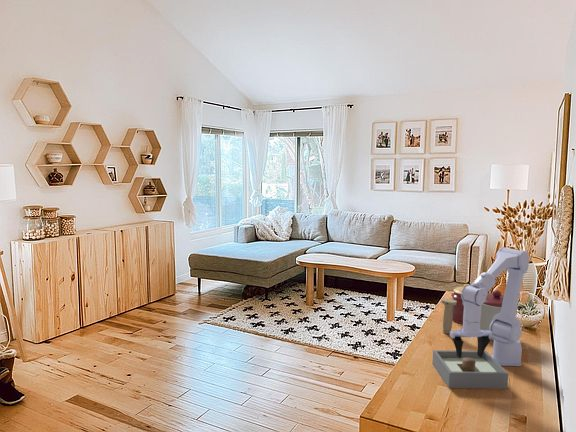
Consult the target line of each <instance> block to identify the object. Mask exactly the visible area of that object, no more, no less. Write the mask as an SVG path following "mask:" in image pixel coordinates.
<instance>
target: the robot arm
mask: <svg viewBox="0 0 576 432" xmlns="http://www.w3.org/2000/svg"><path fill="white" fill-rule="evenodd" d="M530 260H531V258H530V256H529V253H528V252H527V250H526V251H525V250H520V249H514V248H509V247H505V246H502V247H500V248H499V249H498V250H497V252H496V255H495V260H494V262H493V263H492V264H491V266H490V267H489V269H488V270H487V271H486V272H484V271H483V272H481V274H479V275H478V276H477V278H476V279H475V280H474V281H473V282H472V283H471V284H470V285H469V286H466V287H464V289H463V290H462V294H461V298H462V301H463V306H464V314H463V324H462V329H461V328H460V329H457V330H451V331H450V334H449V337H450V338H451V340H452V342H453V344H454V347H455V351H456V353H457V356H458V357H459V358H461V355H462V351H463V345H464V342H465V341H464V340H463V339H462V338H477V350H476V351H477V355H478V356H479V357H482V355H483V352H484V351H486V348H487V347H488V345H489V344H490V343H491V341H490V339H489V338H492V337H493V338H494V341H493V346H492V347H493V348H492V349H493V350H492V355H491V356H492V357H493V358H494V359H495V360H496V361H497V362H498V363H499V365H500V366H501V367H503V366H507V367H512V366H513V367H521V366H522V363H521V362H522V351H523V349H522V343H521V342H520V338H521V335H522V322H521V321H520V320H519V319H518V318H517V316H516V317H515V314H516V315H517V312H516V309H517V310H518V307H517V304H518V302H519V298H520V295H521V294H520V293H521V290H522V285H523V279H524V276H525V275H524V274H526V273H528V269H529V264H530ZM505 270H506V271H507V273H508V275H507V280H506V284H505V289H504V293H503V295H504V298H503V303H502V308H501V313H499V314H497V315H495V316H494V317H493V320H492V322H491V324H490V331H489V330H480V321H481V307H482V304H483V303H484V302H485V300H486V296H487V294H488V293H489V292H490V290H491V289H492V288H493V287H494V286H495V285H496V278H497V277H498V276H500V275H501V274H502V273H504V272H505ZM503 321H504V322H503ZM506 322H507V323H506ZM509 323H510V324H509Z"/></svg>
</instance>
